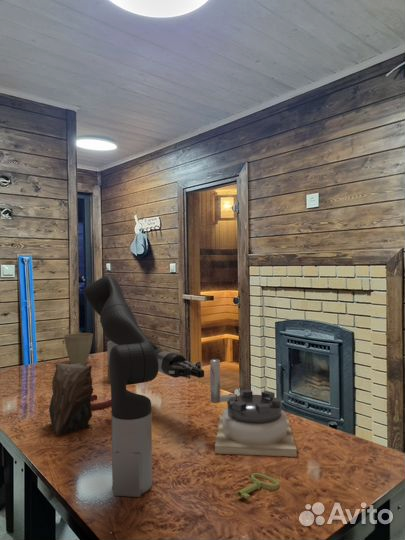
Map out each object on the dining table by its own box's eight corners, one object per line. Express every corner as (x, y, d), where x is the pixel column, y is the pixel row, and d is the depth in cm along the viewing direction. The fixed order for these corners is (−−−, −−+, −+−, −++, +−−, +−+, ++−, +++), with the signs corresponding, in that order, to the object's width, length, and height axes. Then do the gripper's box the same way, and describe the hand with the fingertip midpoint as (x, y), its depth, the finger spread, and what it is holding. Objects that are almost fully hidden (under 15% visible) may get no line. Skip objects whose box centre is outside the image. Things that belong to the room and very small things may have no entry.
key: (235, 502, 87) (235, 492, 87) (254, 475, 98) (253, 467, 98) (267, 510, 83) (267, 500, 83) (282, 482, 95) (282, 473, 95)
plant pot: (96, 365, 210) (96, 335, 210) (68, 369, 202) (67, 338, 202) (88, 360, 222) (88, 331, 222) (61, 363, 215) (61, 334, 215)
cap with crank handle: (284, 424, 109) (283, 364, 109) (209, 422, 112) (209, 363, 112) (279, 404, 125) (279, 352, 125) (214, 402, 128) (213, 351, 128)
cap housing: (290, 446, 108) (290, 428, 108) (220, 443, 110) (220, 425, 110) (283, 419, 127) (283, 404, 127) (224, 418, 129) (224, 402, 129)
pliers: (47, 416, 138) (47, 409, 138) (94, 400, 156) (94, 393, 156) (69, 424, 131) (69, 416, 131) (116, 406, 149) (116, 398, 149)
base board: (296, 456, 106) (296, 449, 106) (215, 453, 109) (214, 446, 109) (288, 424, 128) (288, 418, 128) (220, 422, 131) (220, 416, 131)
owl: (48, 423, 131) (47, 363, 131) (87, 416, 137) (86, 358, 137) (54, 437, 120) (53, 371, 120) (96, 428, 126) (95, 366, 126)
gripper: (153, 355, 129) (184, 365, 115) (186, 349, 137) (218, 358, 123) (153, 378, 129) (184, 391, 115) (186, 371, 137) (219, 382, 123)
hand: (202, 374), depth 119 cm, fingers closed
